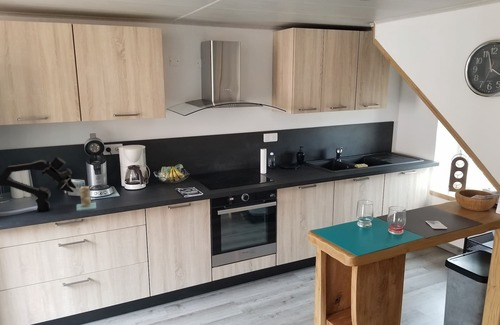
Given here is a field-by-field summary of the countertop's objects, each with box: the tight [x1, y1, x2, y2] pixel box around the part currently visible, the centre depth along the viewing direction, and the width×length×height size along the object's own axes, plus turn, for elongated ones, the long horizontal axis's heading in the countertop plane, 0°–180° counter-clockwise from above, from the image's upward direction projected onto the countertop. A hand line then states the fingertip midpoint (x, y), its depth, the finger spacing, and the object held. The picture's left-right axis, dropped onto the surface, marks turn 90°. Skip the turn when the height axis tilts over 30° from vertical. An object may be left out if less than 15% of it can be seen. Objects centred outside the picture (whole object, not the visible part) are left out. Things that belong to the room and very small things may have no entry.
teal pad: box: [76, 201, 97, 212], centre depth 258 cm, size 12×12×1 cm
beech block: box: [80, 185, 92, 207], centre depth 257 cm, size 5×5×13 cm
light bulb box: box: [67, 178, 86, 197], centre depth 285 cm, size 11×7×11 cm, turn 75°
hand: (74, 189), depth 254 cm, fingers open, 9 cm apart
